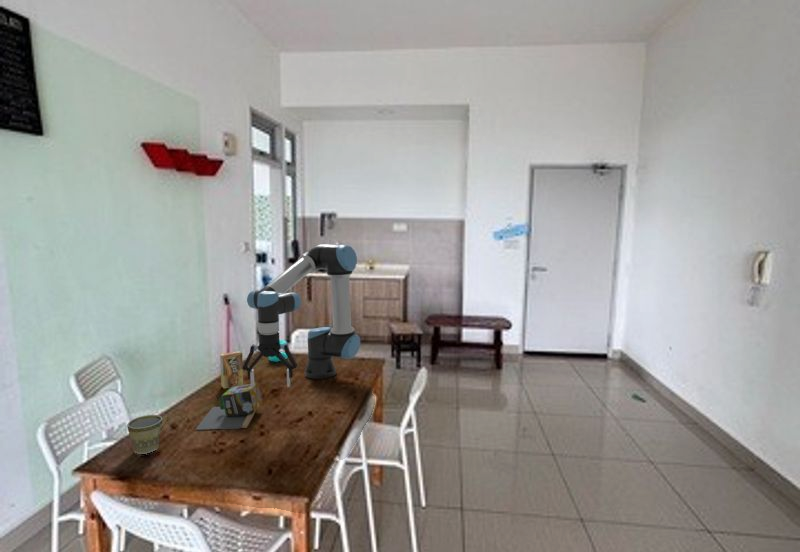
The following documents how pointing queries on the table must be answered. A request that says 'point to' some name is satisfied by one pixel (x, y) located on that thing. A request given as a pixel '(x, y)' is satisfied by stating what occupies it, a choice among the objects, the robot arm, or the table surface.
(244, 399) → the chalk box
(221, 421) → the mat
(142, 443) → the ceramic cup
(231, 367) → the candy box
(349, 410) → the table surface
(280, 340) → the donuts
